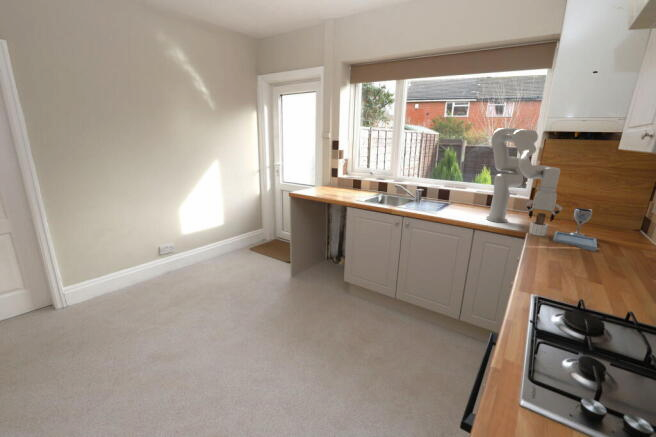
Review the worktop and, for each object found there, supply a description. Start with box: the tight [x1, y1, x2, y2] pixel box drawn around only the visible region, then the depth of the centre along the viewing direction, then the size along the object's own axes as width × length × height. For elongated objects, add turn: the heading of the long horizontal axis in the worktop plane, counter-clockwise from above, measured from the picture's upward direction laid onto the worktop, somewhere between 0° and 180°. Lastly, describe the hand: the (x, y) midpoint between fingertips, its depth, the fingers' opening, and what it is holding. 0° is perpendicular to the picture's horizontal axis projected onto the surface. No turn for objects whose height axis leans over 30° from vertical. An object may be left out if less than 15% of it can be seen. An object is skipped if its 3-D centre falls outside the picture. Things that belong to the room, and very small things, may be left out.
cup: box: [528, 221, 549, 237], centre depth 174 cm, size 8×8×7 cm
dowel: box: [534, 212, 547, 225], centre depth 173 cm, size 4×4×12 cm
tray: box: [552, 230, 598, 252], centre depth 164 cm, size 18×18×2 cm
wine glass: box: [569, 207, 593, 237], centre depth 177 cm, size 8×8×15 cm
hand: (540, 219), depth 172 cm, fingers open, 9 cm apart
